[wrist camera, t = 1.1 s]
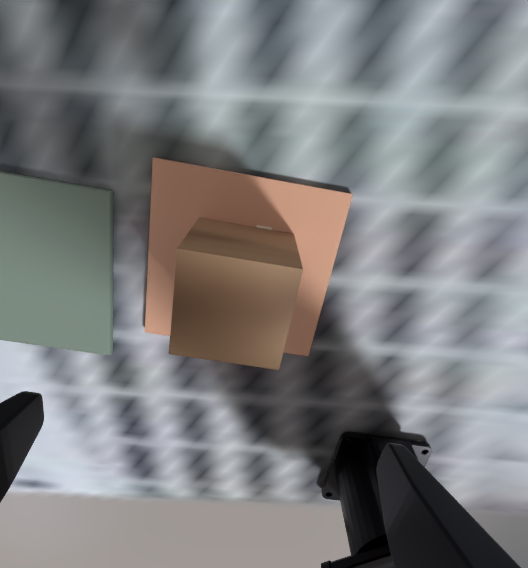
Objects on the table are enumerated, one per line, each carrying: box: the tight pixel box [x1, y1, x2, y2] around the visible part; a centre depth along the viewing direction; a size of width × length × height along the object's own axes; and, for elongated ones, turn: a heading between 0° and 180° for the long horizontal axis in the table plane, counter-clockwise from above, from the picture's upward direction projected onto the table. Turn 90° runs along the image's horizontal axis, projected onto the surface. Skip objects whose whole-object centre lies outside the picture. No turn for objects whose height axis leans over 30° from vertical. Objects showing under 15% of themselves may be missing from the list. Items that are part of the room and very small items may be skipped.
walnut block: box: [169, 217, 303, 370], centre depth 17 cm, size 5×5×5 cm
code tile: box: [145, 157, 353, 356], centre depth 20 cm, size 10×10×1 cm
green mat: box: [0, 171, 113, 355], centre depth 20 cm, size 10×10×1 cm
